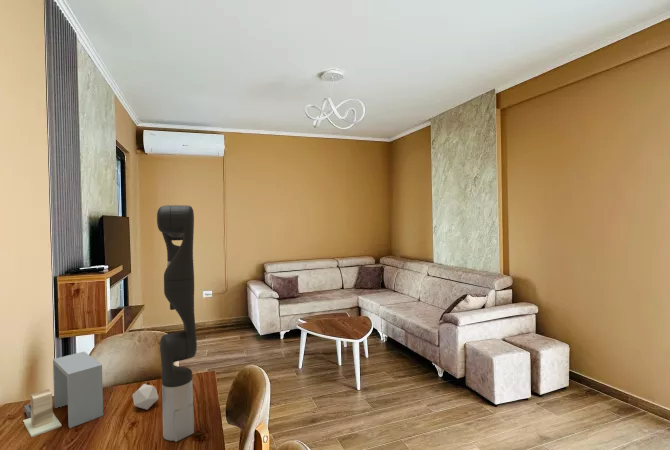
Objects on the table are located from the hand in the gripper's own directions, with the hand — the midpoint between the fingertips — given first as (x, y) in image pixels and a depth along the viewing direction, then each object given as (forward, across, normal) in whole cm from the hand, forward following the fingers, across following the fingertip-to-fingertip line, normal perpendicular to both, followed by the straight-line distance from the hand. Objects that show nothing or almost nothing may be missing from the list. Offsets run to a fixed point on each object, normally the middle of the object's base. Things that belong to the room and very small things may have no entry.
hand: (177, 311), depth 147 cm
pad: (+33, -14, -42) cm, 55 cm away
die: (+33, +2, -14) cm, 36 cm away
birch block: (+32, -14, -42) cm, 55 cm away
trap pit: (+33, -26, -41) cm, 59 cm away
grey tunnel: (+33, -14, -32) cm, 48 cm away
